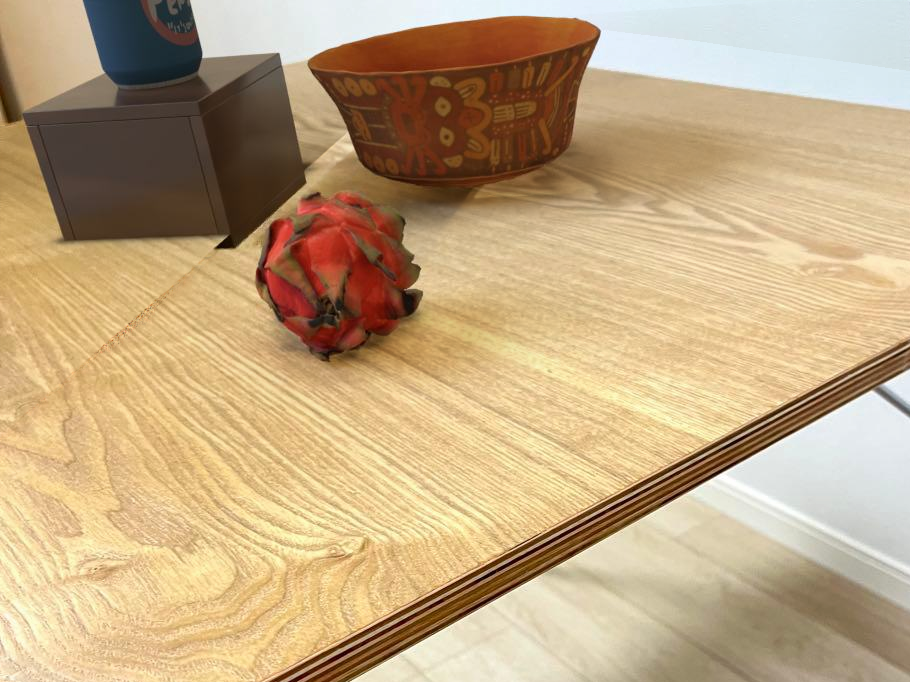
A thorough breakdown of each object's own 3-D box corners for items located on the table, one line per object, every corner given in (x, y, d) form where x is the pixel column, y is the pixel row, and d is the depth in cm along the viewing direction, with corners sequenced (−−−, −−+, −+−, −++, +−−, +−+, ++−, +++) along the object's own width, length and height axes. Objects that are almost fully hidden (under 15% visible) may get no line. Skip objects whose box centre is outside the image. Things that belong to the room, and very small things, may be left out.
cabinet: (160, 189, 94) (124, 63, 88) (307, 183, 91) (279, 52, 86) (68, 254, 82) (20, 112, 76) (234, 248, 79) (197, 101, 74)
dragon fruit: (378, 316, 70) (367, 432, 61) (246, 254, 67) (214, 367, 58) (443, 202, 66) (441, 310, 57) (305, 130, 62) (279, 232, 53)
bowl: (383, 145, 99) (362, 20, 93) (627, 133, 94) (620, 1, 89) (292, 226, 82) (260, 80, 76) (583, 218, 77) (571, 61, 72)
